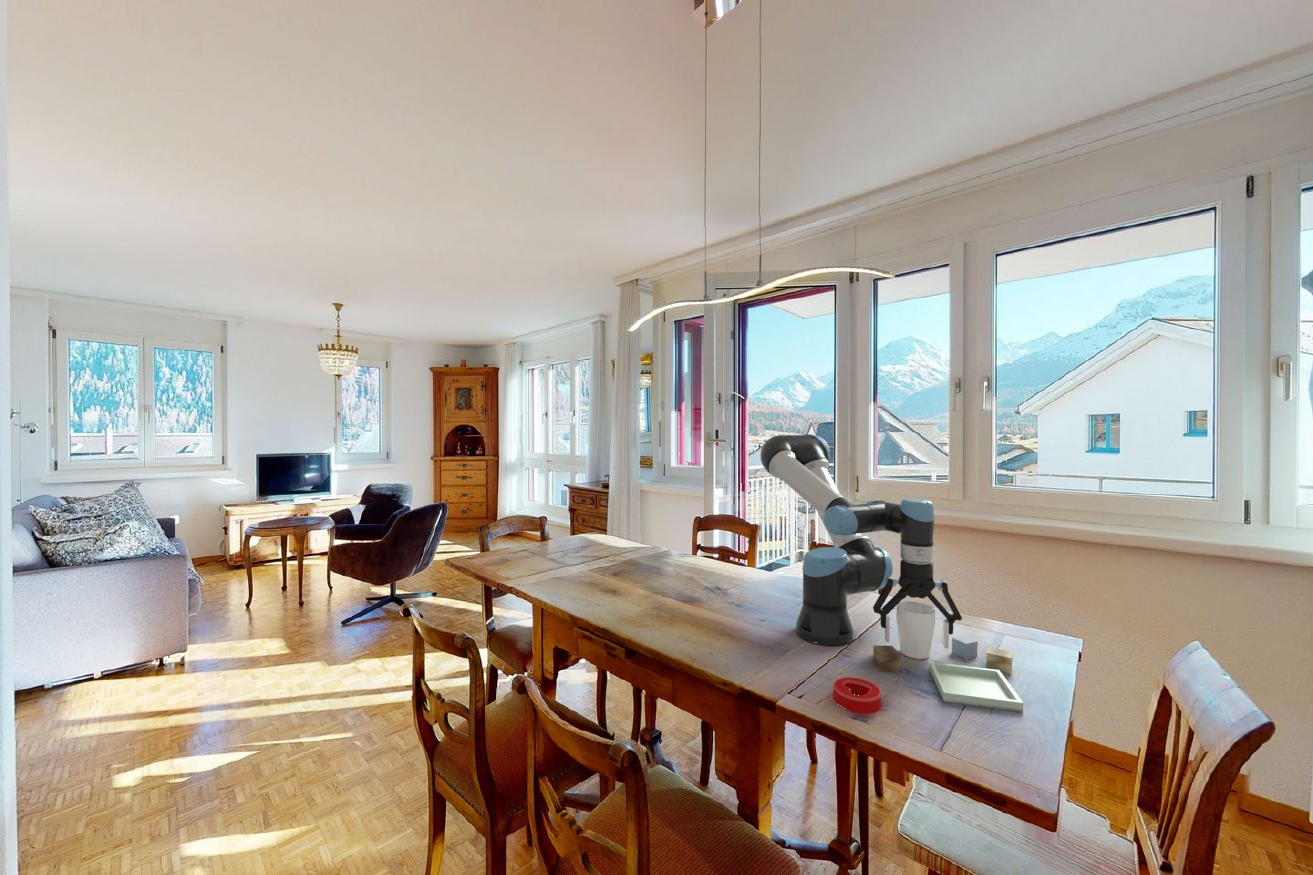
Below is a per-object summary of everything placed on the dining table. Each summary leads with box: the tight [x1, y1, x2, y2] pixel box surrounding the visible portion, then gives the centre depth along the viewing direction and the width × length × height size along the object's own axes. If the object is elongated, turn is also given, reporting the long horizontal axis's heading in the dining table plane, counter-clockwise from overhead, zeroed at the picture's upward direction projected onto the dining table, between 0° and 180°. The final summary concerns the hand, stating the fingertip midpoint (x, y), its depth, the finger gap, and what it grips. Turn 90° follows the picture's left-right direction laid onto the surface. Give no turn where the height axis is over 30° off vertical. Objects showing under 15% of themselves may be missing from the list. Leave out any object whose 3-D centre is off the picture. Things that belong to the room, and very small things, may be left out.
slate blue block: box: [951, 634, 979, 660], centre depth 136 cm, size 4×4×4 cm
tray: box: [928, 661, 1024, 713], centre depth 118 cm, size 15×15×2 cm
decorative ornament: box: [832, 676, 882, 715], centre depth 114 cm, size 10×10×3 cm
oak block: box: [985, 646, 1014, 675], centre depth 128 cm, size 5×4×4 cm
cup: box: [895, 601, 937, 660], centre depth 136 cm, size 9×9×12 cm
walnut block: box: [872, 644, 901, 673], centre depth 129 cm, size 4×4×4 cm
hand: (915, 643), depth 136 cm, fingers open, 13 cm apart
